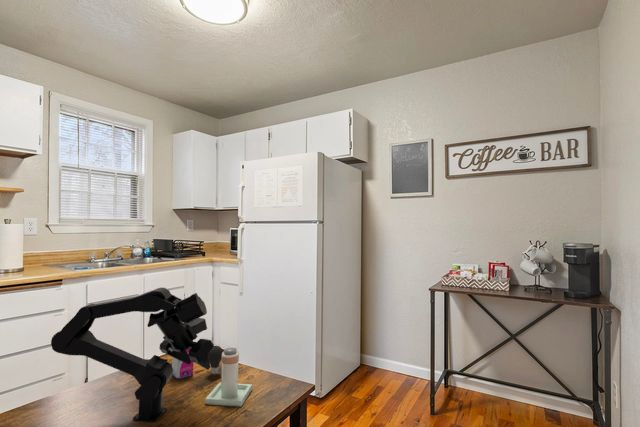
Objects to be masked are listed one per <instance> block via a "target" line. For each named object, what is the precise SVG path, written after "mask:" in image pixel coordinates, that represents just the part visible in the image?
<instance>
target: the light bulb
mask: <svg viewBox="0 0 640 427" xmlns="http://www.w3.org/2000/svg"><path fill="white" fill-rule="evenodd" d="M223 352H224V349H223V348H222V347H221V346H220V345H214V347H213V348H212V349H211V350H210V352H209V353H208V354H209V361H210V369H211V370H210V371H211V374H212V375H214V376H215V375H217V374H218V373H219V367H220V364H221V362H222V353H223Z"/></svg>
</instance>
